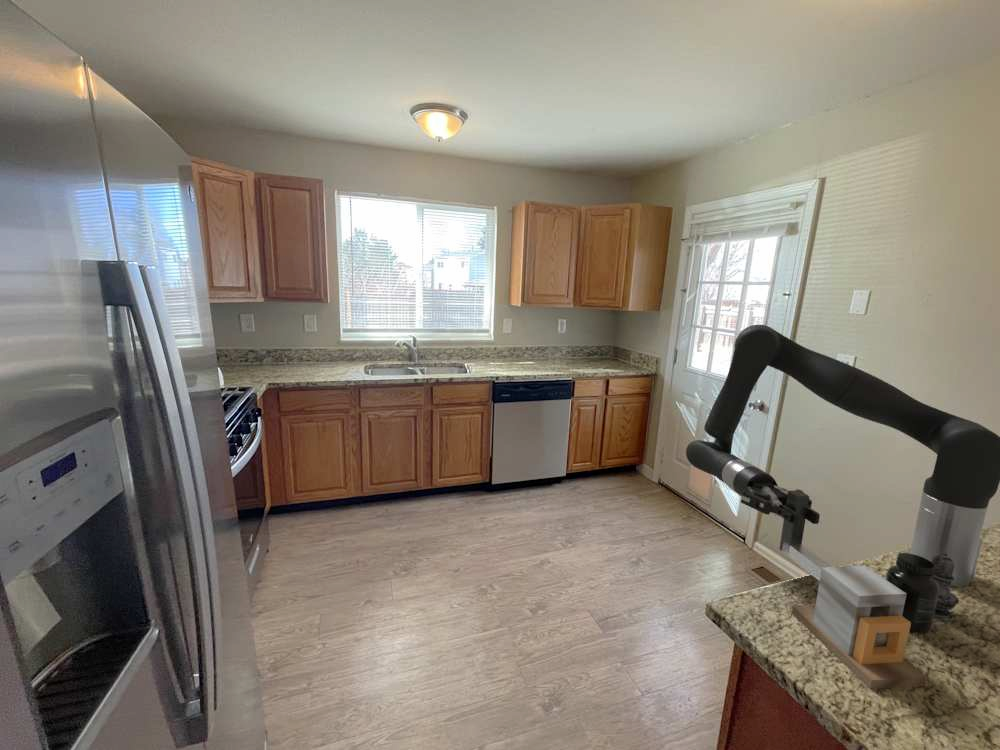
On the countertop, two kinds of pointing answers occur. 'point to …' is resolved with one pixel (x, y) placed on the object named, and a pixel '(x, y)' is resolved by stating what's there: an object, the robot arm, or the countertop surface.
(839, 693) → the countertop surface
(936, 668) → the countertop surface
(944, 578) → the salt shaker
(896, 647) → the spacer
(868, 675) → the stand
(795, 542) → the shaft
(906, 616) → the supplement bottle
